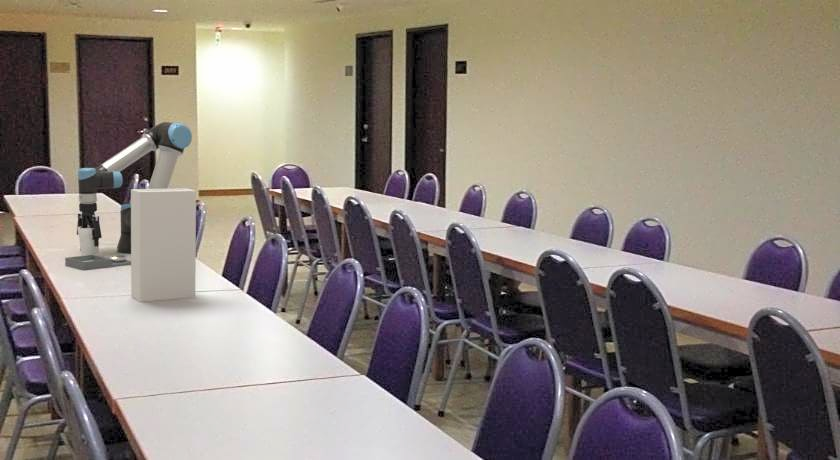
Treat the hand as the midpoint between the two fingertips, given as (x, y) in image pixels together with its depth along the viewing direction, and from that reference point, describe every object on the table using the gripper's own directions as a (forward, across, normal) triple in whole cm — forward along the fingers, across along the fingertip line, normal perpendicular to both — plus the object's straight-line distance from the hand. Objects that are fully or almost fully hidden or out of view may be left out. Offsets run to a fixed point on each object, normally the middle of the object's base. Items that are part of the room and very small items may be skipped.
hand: (89, 252), depth 430 cm
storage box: (+3, +90, -24) cm, 93 cm away
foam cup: (+2, 0, 0) cm, 2 cm away
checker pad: (+2, +15, +3) cm, 15 cm away
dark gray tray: (+3, +15, -4) cm, 16 cm away
